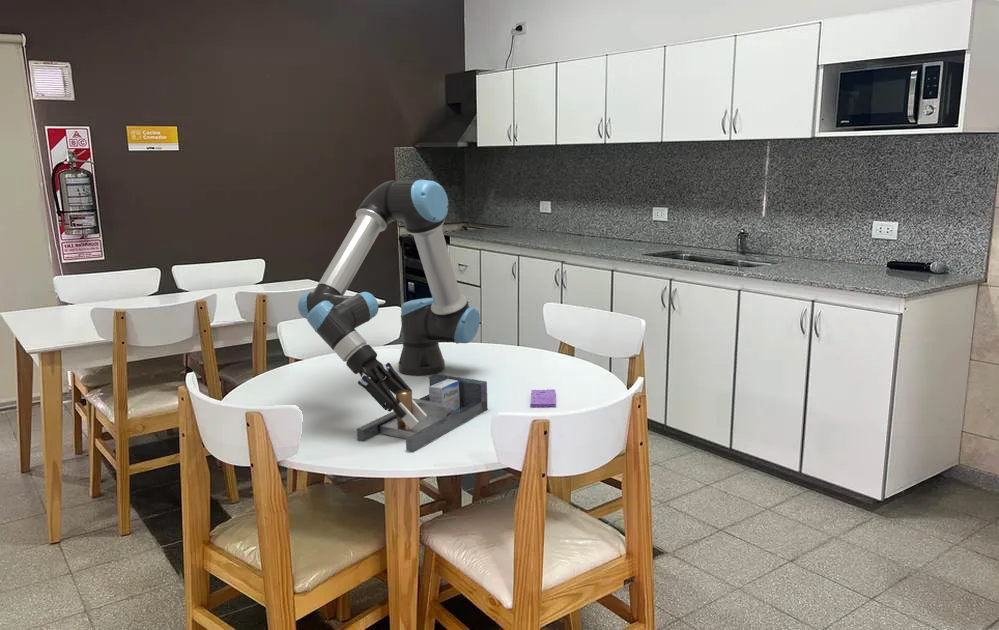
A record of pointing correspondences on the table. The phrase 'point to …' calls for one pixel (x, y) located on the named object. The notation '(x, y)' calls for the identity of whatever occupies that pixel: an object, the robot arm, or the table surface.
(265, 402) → the table surface
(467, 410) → the vise frame
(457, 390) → the medicine box
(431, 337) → the robot arm
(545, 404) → the sponges
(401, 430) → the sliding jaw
